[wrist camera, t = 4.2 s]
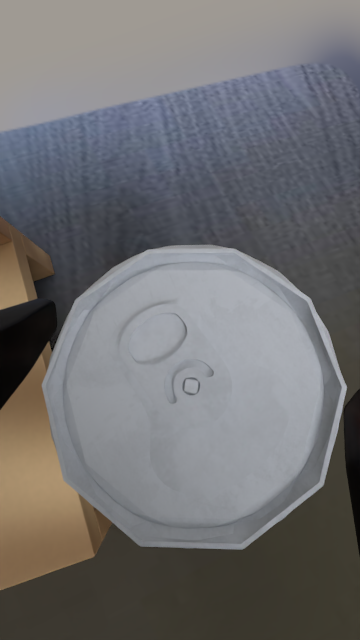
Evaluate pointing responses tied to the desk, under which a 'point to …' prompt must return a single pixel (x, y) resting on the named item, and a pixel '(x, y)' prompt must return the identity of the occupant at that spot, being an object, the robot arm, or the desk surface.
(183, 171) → the desk surface
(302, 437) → the drink can
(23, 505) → the small wooden stand
